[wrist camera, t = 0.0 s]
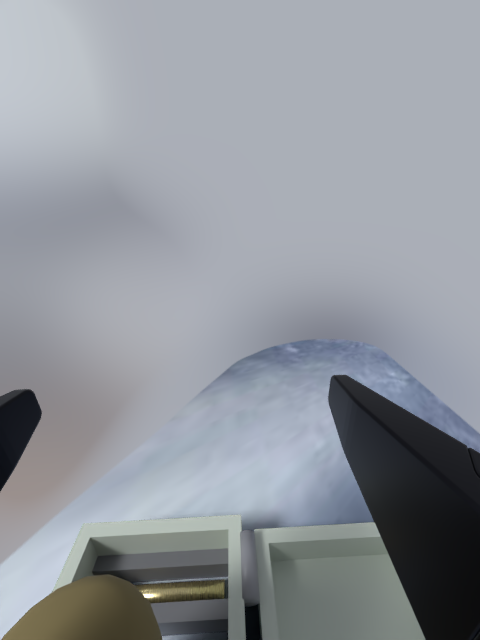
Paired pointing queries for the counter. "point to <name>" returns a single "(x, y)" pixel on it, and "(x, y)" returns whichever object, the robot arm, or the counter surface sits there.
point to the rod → (183, 591)
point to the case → (175, 566)
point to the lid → (330, 585)
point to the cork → (90, 613)
